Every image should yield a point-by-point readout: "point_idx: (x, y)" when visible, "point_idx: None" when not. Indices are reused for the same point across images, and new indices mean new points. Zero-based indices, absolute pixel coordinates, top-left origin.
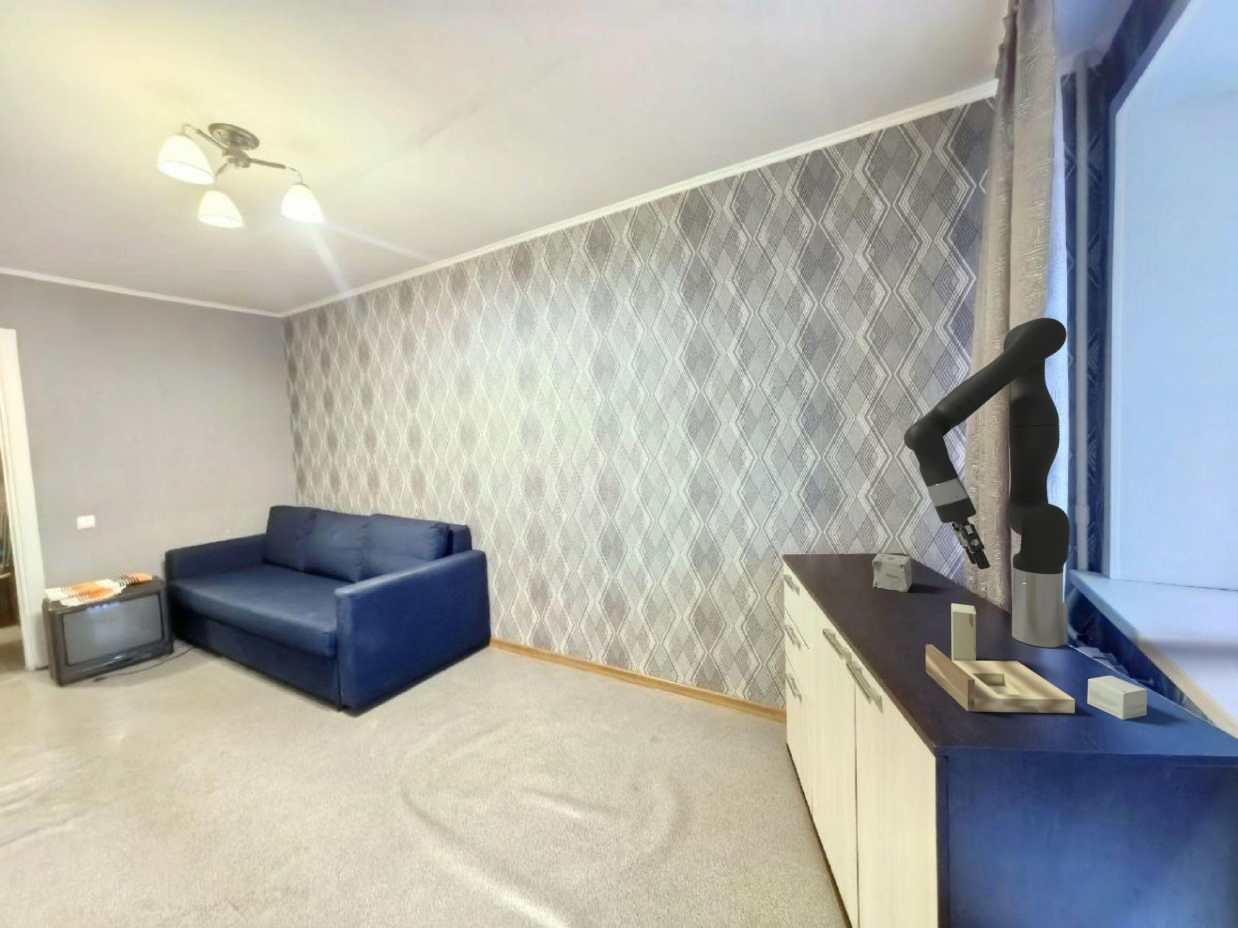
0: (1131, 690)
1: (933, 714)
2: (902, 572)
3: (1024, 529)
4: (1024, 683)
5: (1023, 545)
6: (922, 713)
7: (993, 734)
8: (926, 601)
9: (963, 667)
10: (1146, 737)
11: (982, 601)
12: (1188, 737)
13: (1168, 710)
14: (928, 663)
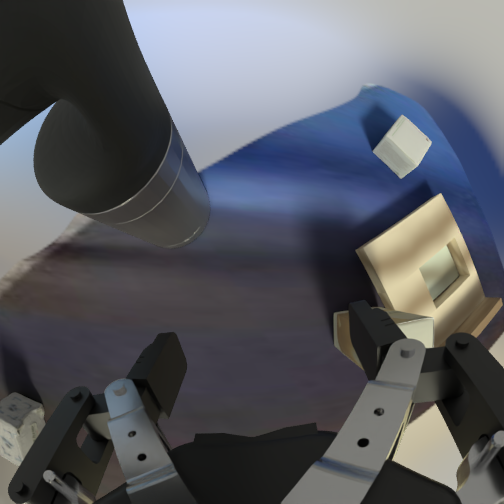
0: (418, 131)
1: (489, 331)
2: (24, 423)
3: (83, 51)
4: (433, 243)
5: (123, 122)
6: (490, 340)
7: (496, 277)
8: (63, 380)
9: None
10: (435, 149)
11: (24, 286)
12: (411, 116)
13: (361, 107)
14: None
